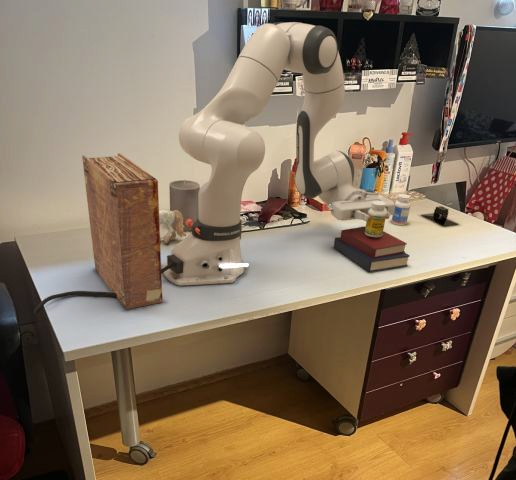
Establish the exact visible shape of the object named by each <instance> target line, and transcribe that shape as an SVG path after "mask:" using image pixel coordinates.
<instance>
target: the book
mask: <svg viewBox="0 0 516 480" xmlns="http://www.w3.org/2000/svg"><path fill="white" fill-rule="evenodd" d="M81 157H82V165H83V167H82V168H83V175H84V182H85V183H84V184H85V191H86V192H85V193H86V200H87V210H88V217H89V228H90V236H91V244H92V253H93V261H94V269H95V272H97V274H98V275H99V276H100V278H101V279H102V280H103V282H104V284H106V286H107V287H108V288H109V290H110V292H111V293H116V294H117V297H116V298H117V300H118V301H119V302H120V305H122V307H123V308H124V309H125V310H131V309H136V308H140V307H146V306H151V305H154V304H159V303H160V304H161V303H163V280H162V278H163V277H162V274H161V269H162V255H161V254H162V253H161V231H160V228H161V226H160V225H161V224H160V225H159V211H160V203H159V181H158V179H157V178H156V177H154V176H153V175H151V174H150V173H149V172H147V171H146V170H145V169H144V168H142V167H140V166H139V165H137V164H136V163H135V162H133V161H132V160H130V159H129V158H128V157H126V156H124V154H122V153H121V152H118V153H117V155H112V156H99V157H87V156H86V155H82V156H81Z"/></svg>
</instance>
